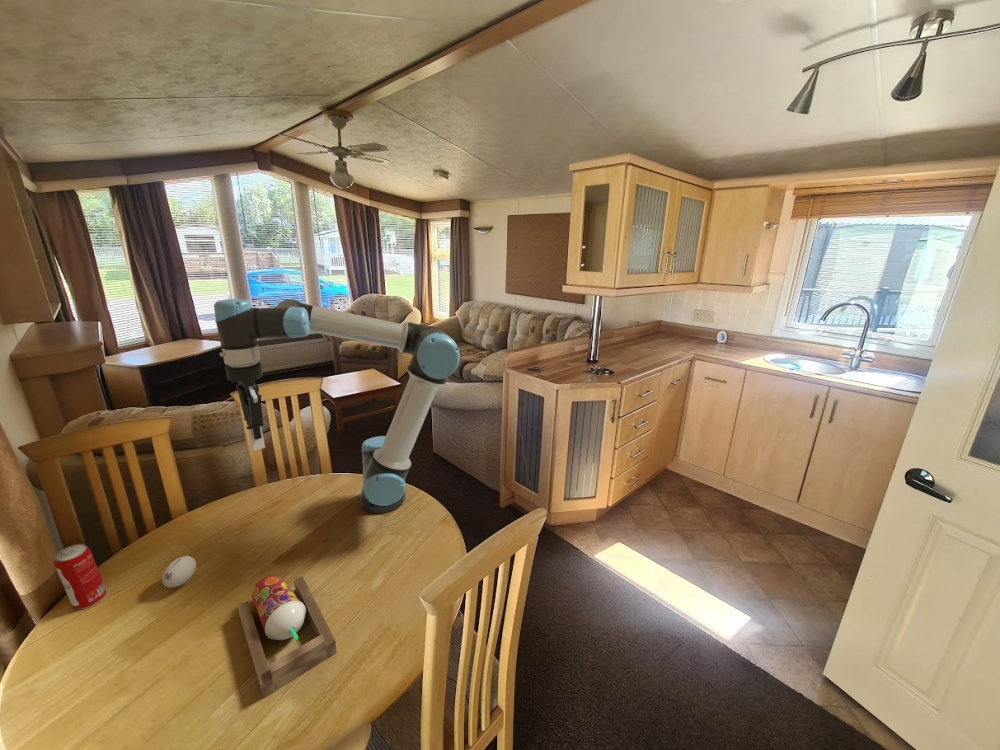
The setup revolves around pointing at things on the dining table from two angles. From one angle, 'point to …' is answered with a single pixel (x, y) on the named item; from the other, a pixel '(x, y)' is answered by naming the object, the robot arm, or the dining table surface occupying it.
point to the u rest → (297, 659)
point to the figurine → (179, 571)
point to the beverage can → (80, 576)
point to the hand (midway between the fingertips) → (258, 448)
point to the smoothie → (278, 608)
